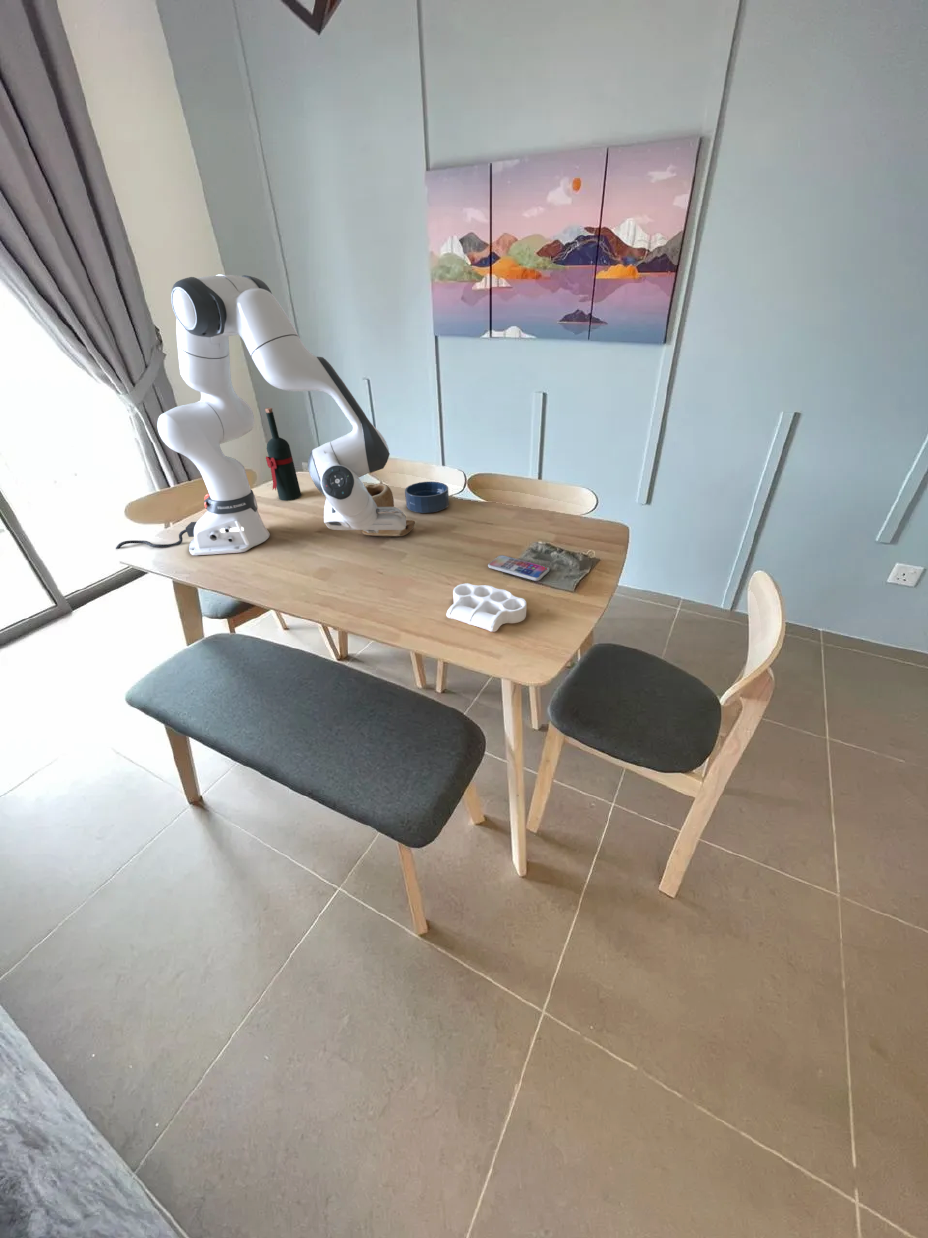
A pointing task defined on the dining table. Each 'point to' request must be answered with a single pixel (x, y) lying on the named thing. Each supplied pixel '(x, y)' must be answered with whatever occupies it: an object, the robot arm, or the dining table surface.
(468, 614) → the knuckle duster
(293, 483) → the wine bottle
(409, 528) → the stone cup
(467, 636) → the dining table surface
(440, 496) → the bowl
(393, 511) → the robot arm
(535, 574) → the smartphone
